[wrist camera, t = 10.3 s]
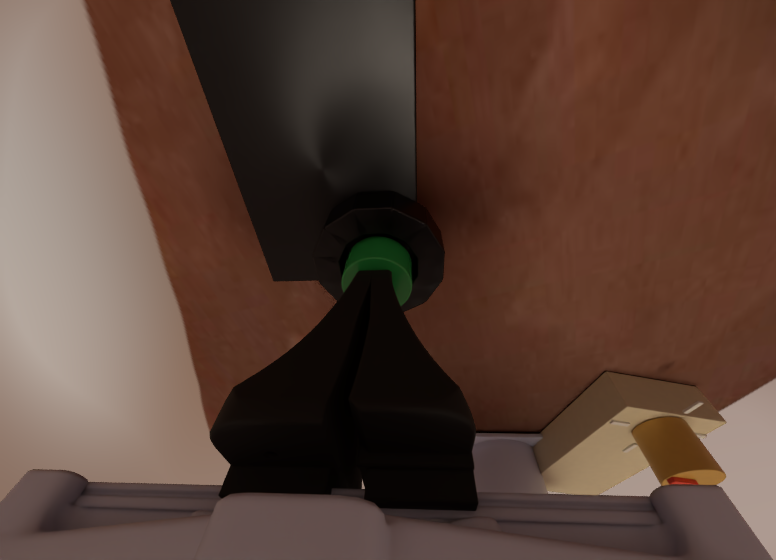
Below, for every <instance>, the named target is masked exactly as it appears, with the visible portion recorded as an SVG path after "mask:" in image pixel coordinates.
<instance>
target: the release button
mask: <svg viewBox="0 0 776 560" xmlns="http://www.w3.org/2000/svg"><path fill="white" fill-rule="evenodd" d="M362 270H390V271H391V272H392V283H393V287H394V290H395V293H396V296H397V299H398V301H399V304H400V306H402V305H403V304H404V303H405V302H406V301H407V300H408V298H409V296H410V294H411V291H412V263H411V257H410V255H409V253H408V251H407V250H406V249H405V247H404V246H402V245H401V244H400V243H399V242H397V241H395V240H393V239H391V238H387V237H382V236H374V237H368V238H365V239H363V240H361V241H359V242H358V243H356V244H355V245H354V246H353V247H352V248H351V250H350V252H349V254H348V257H347V261H346V264H345V268H344V272H343V276H342V281H341V285H342V290H343V292H345V290H346V289H347V287H348V286H349V284H350V283H351V281H352V280H353V278H354V277H355V275H356V273H357V272H358V271H362Z"/></svg>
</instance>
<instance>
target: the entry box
mask: <svg viewBox="0 0 776 560" xmlns="http://www.w3.org/2000/svg"><path fill="white" fill-rule="evenodd" d="M170 1H171V4H172V7H173V9H174V12H175V15H176V17H177V20H178V23H179V26H180V28H181V31H182V34H183V36H184V39H185V42H186V45H187V47H188V50H189V53H190V55H191V58H192V61H193V64H194V66H195V69H196V72H197V74H198V77H199V80H200V83H201V85H202V88H203V91H204V93H205V96H206V99H207V102H208V104H209V107H210V110H211V112H212V115H213V118H214V121H215V123H216V126H217V129H218V131H219V134H220V137H221V140H222V142H223V145H224V148H225V150H226V153H227V156H228V159H229V161H230V164H231V167H232V169H233V172H234V175H235V178H236V180H237V183H238V186H239V188H240V191H241V194H242V197H243V199H244V202H245V205H246V207H247V210H248V213H249V216H250V218H251V221H252V224H253V226H254V229H255V232H256V235H257V237H258V240H259V243H260V245H261V248H262V251H263V254H264V256H265V259H266V262H267V264H268V267H269V270H270V273H271V275H272V278H273V281H310V280H319V282H320V284H321V285H322V286H323V287H324V288H325V289H326V290H327V291H328V292H329V293H330V294H331V295H332V296H333V297H334V298H335V299H336V300H337V301H338V300H339V298H340V297H341V296H342V294H343V293H344V292H343V290H342V285H341V281H342V276H343V272H344V268H345V264H346V261H347V257H348V254H349V252H350V250H351V248H352V247H353V246H354V245H355V244H356V243H358V242H359V241H361V240H363V239H365V238H368V237H374V236H382V237H387V238H391V239H393V240H395V241H397V242H399V243H400V244H401V245H402V246H404V247H405V249H406V250H407V251H408V253H409V255H410V257H411V263H412V291H411V294H410V296H409V298H408V300H407V301H406V302H405V303H404V304H403V305H402V306H401V308H402V311H403V312H405V311H407V310H409V309H411V308H414V307H416V306H418V305H420V304H423V303H424V302H426V301H427V300H428V298H429V297H430V296H431V295H432V293H433V292H434V291H435V289H436V288H437V287H438V286H439V284H440V283H441V282H442V280H443V273H444V256H445V251H444V246H443V241H442V236H441V231H440V230H439V228H438V226H437V225H436V223H435V222H434V220H433V218H432V217H431V215H430V214H429V212H428V210H427V209H426V207H424V206H423V205H421V204H419V203H417V160H416V10H415V0H170Z"/></svg>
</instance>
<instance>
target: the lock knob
mask: <svg viewBox="0 0 776 560" xmlns="http://www.w3.org/2000/svg"><path fill="white" fill-rule="evenodd" d="M632 436H633V437H634V439H635V441H636V443H637V444H638V446H639V448H640V450H641V451H642V453H643V455H644V456H645V458H646V460H647V462H648V463H649V465H650V466H651V468H652V470H653V472H654V473H655V475H656V477H657V479H658V480H659V482H660V484H661V486H664V485H670V484H692V485H717V484H718V483H720V482H722V481H723V480H724V479H725V478H726V474H725V473H724V471H723V470H722V469H721V467H720V466H719V465H718V463H717V462H716V461H715V459H714V458H713V457H712V455H711V454H710V453H709V451H708V450H707V449H706V447H705V446H704V445H703V443H702V442H701V441H700V439H699V438H698V437H697V435H696V434H695V433H694V431H693V430H692V429H691V427H690V426H689V425H688V423H687V422H686V421H685V420H684V419H681V418H677V417H662V418H656V419H652V420H648V421H646V422H643V423H641V424H639V425H638V426H636V427H635V428H634V429H633V431H632Z"/></svg>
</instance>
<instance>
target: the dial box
mask: <svg viewBox="0 0 776 560" xmlns="http://www.w3.org/2000/svg"><path fill="white" fill-rule="evenodd" d="M662 417H677V418H681V419H684V420H685V421H686V422H687V423H688V425H689V426H690V427H691V429H692V430H693V431H694V433H695V434H696V435H697V437H698V438H705V437H707V435H706V434H708V433H709V432H711V431H713V430H715V429H716V428H718V427H720V426H722V425H724V424H726V421H725V420H724V419H723V417H722V416H721V415H720V414H719V413H718V412H717V410H716V409H715V408H714V407H713V406H712V404H711V403H710V402H709V401H708V400H707V399H706V397H705V396H704V395H703V394H702V393H701V392H700V390H699V389H698V388H697V387H695V386H689V385H683V384H677V383H672V382H666V381H660V380H654V379H648V378H642V377H636V376H630V375H625V374H619V373H613V372H607V371H606V372H605V373H603V374H602V375H601V376H600V377H599V378H598V379H597V380H596V381H595V382H594V383H593V384H592V385H591V386H590V387H589V388H587V389H586V390H585V391H584V392H583V393H582V394H581V395H580V396H579V397H578V398H577V399H576V400H575V401H574V402H573V403H571V404H570V405H569V406H568V407H567V408H566V409H565V410H564V411H563V412H562V413H561V414H560V415H559V416H558V417H557V418H556V419H554V420H553V421H552V422H551V423H550V424H549V425H548V426H547V427H546V428H545V429H544V430H543V431H542V432H541V433H540V434H542V436H543V438H542V439H541V440H540V441H539V442H537V444H536V445H535V446H534V447H533V451H534V454H535V457H536V460H537V463H538V466H539V470H540V473H541V475H542V476H543V479H544V482H545V485H546V488H547V491H551V492H559V493H566V494H574V495H599V494H601V493H603V492H604V491H606V490H608V489H610V488H612V487H613V486H615V485H617V484H619V483H621V482H622V481H624V480H626V479H627V478H629V477H631V476H633V475H635V474H636V473H638V472H640V471H642V470H644V469H645V468H647V467H649V466H650V465H649V463H648V462H647V460H646V458H645V456H644V455H643V453H642V451H641V450H640V448H639V446H638V444H637V443H636V441H635V439H634V437H633V436H632V431H633V429H634V428H635V427H636V426H638V425H639V424H641V423H643V422H646V421H648V420H652V419H656V418H662Z"/></svg>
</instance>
